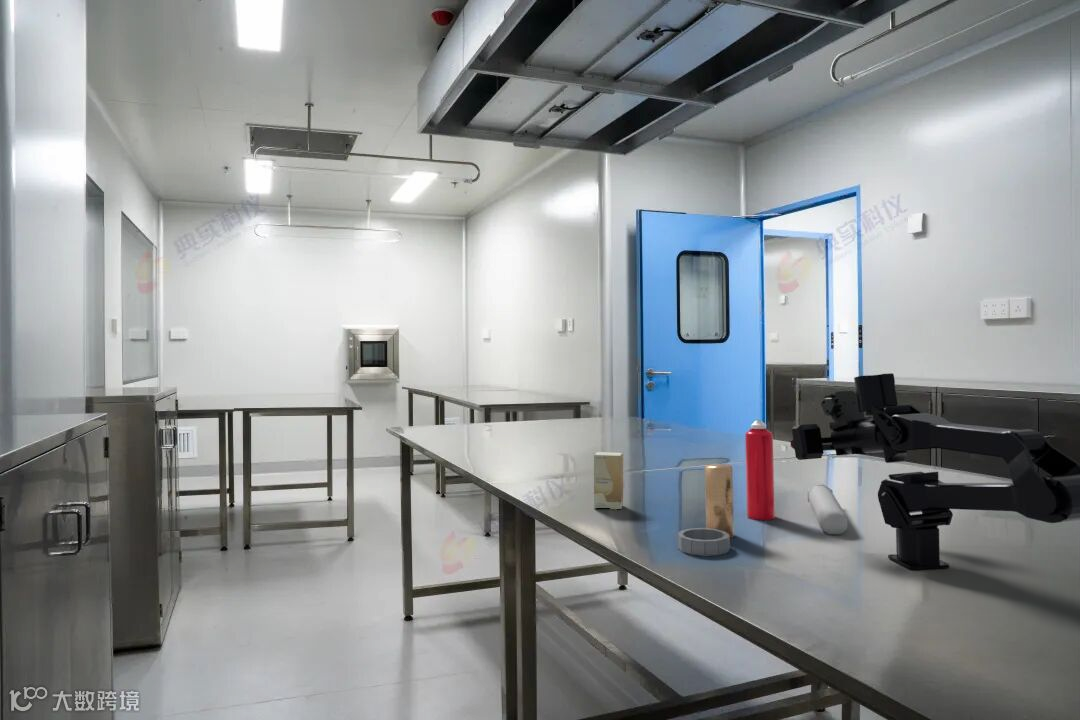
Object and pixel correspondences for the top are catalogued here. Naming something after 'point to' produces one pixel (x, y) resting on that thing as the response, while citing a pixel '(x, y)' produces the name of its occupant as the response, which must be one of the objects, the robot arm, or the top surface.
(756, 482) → the bottle
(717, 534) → the collar
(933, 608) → the top surface
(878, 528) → the top surface
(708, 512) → the copper stub
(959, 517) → the top surface
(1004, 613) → the top surface
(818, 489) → the tube
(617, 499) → the skincare box
